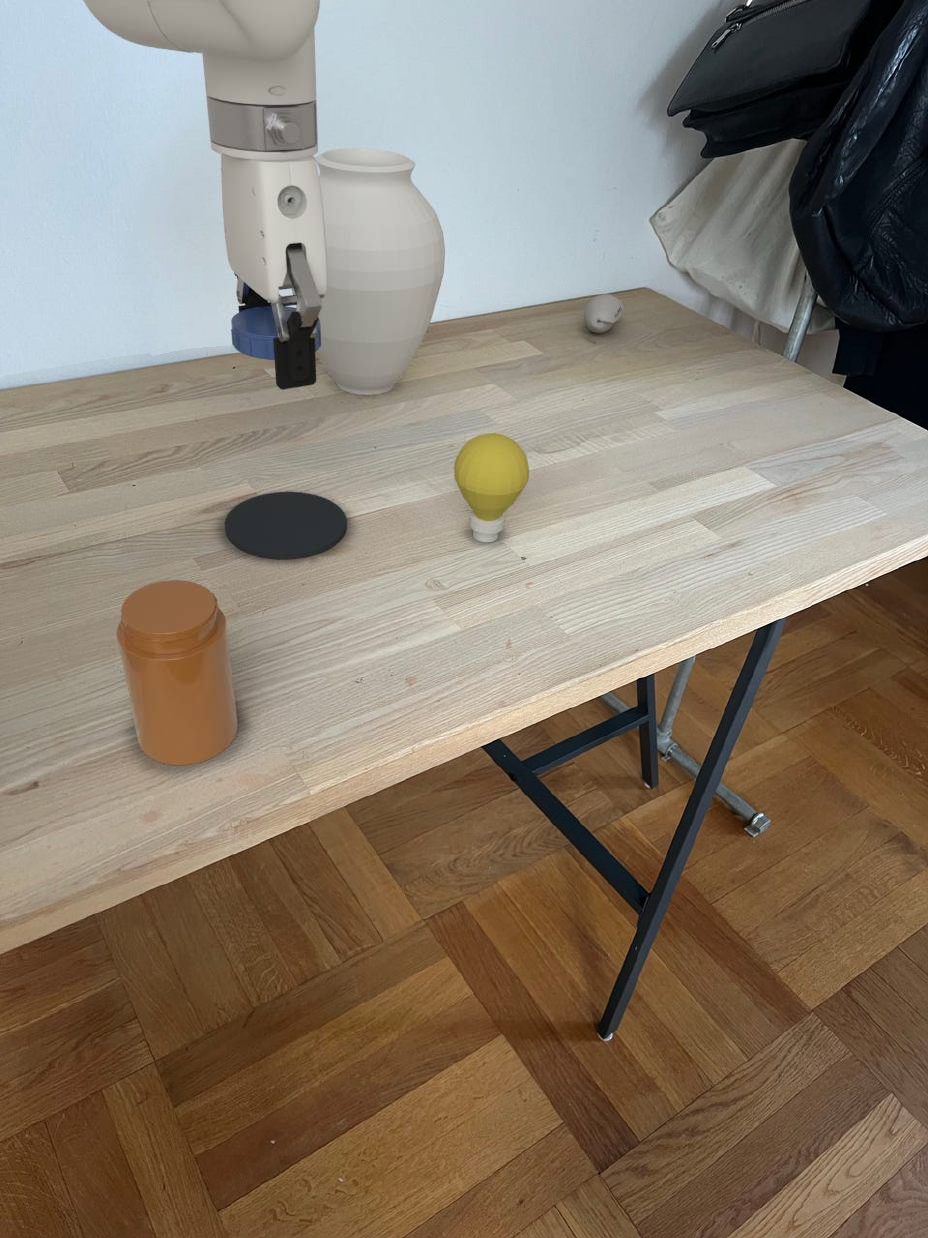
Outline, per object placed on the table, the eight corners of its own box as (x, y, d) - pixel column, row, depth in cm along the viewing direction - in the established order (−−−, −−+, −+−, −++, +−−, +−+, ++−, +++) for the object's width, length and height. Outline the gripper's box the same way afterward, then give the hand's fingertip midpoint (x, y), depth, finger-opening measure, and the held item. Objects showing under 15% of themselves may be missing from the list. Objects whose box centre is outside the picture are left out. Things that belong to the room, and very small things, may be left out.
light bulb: (532, 528, 88) (544, 431, 82) (504, 562, 83) (515, 462, 77) (467, 510, 90) (475, 414, 84) (437, 542, 85) (443, 442, 79)
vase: (343, 426, 102) (339, 182, 87) (263, 372, 113) (248, 146, 98) (467, 393, 112) (484, 168, 97) (383, 346, 122) (386, 136, 107)
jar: (153, 778, 60) (128, 650, 53) (126, 715, 64) (100, 591, 58) (251, 745, 63) (239, 620, 56) (219, 687, 67) (204, 566, 61)
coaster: (250, 571, 79) (249, 565, 79) (208, 511, 86) (208, 505, 86) (366, 542, 84) (366, 536, 84) (318, 487, 91) (317, 482, 91)
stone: (614, 346, 128) (620, 310, 125) (576, 340, 129) (581, 304, 126) (623, 324, 136) (629, 289, 133) (587, 318, 137) (592, 284, 134)
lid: (301, 324, 79) (300, 301, 78) (334, 353, 74) (334, 329, 73) (221, 334, 76) (219, 311, 75) (250, 365, 71) (248, 341, 70)
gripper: (365, 149, 61) (365, 401, 72) (269, 103, 73) (281, 326, 84) (256, 154, 58) (274, 418, 69) (174, 105, 70) (200, 337, 80)
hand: (278, 366), depth 76 cm, fingers closed on lid, 7 cm apart
